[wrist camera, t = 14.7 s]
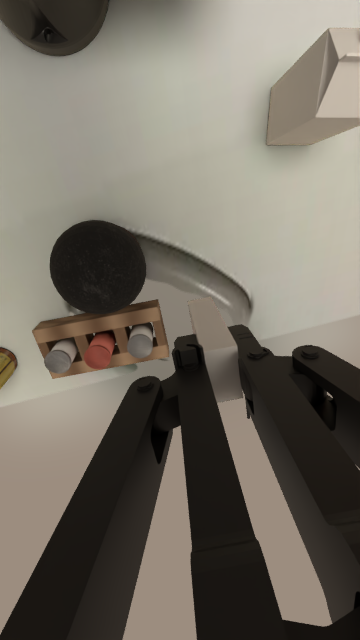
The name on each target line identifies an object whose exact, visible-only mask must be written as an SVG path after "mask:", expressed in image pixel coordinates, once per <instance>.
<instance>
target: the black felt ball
mask: <svg viewBox="0 0 360 640" xmlns="http://www.w3.org/2000/svg"><path fill="white" fill-rule="evenodd" d="M50 274H51V278H52V281H53V284H54V286H55V287H56V289H57V291H58V293H59V294H60V295H61V296H62V297H63V299H64V300H66V301H67V302H68V303H69V304H70V305H72V306H73V307H75V308H77V309H79V310H81V311H84V312H86V313H91V314H109V313H113V312H116V311H119V310H122V309H123V308H125V307H127V306H128V305H129V304H131V303H132V302H133V301H134V300H135V299H136V297H137V296H138V294H139V293H140V291H141V289H142V287H143V285H144V282H145V277H146V263H145V259H144V255H143V252H142V250H141V247H140V245H139V243H138V242H137V240H136V238H135V237H134V236H133V235H132V234H131V233H130V232H129V231H127V230H126V229H124V228H122V227H120V226H117V225H115V224H113V223H109V222H105V221H99V220H90V221H84V222H81V223H78V224H76V225H73V226H72V227H71V228H69V229H68V230H66V231H65V232H64V233H63V234H62V235H61V236H60V237H59V238H58V239H57V241H56V243H55V245H54V247H53V250H52V253H51V257H50Z"/></svg>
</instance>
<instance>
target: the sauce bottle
mask: <svg viewBox="0 0 360 640" xmlns="http://www.w3.org/2000/svg"><path fill="white" fill-rule="evenodd" d="M16 366H17V362H16V359H15V356H14V355H13V354H12V353H11V352H10V351H8V350H6V349H3V348H0V389H1V388H2V387H3V385H4V384H5V383H6V381H7V380H8V379H9V378H10V376H11V375H12V374H13V372H14V370H15V368H16Z"/></svg>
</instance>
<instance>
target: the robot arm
mask: <svg viewBox="0 0 360 640" xmlns="http://www.w3.org/2000/svg"><path fill="white" fill-rule="evenodd" d="M108 3H109V0H0V19H1V20H2V21H3V23H4V24H5V25H6V26H7V27H8V28H9V30H10V31H11V32H12V33H13V34H14V35H15V36H16V37H17V38H18V39H20V40H21V41H22V42H23V43H25V44H26V45H28V46H29V47H31V48H32V49H34V50H36V51H39V52H41V53H44V54H48V55H54V56H63V55H69V54H73V53H75V52H77V51H79V50H81V49H83V48H84V47H86V46H87V45H88V44H89V43H90V42H91V41H92V40H93V39H94V38H95V36H96V35H97V33H98V32H99V30H100V28H101V26H102V24H103V22H104V19H105V16H106V12H107V8H108ZM188 306H189V312H190V317H191V323H192V328H193V334H192V335H187V336H182V337H177V339H176V340H175V342H174V345H175V348H174V349H173V351H172V356H173V361H174V365H175V370H176V371H175V373H174V374H173V375H172V376H170V377H169V378H167V379H165V380H163V381H160V380H159V378H157V377H154V376H147V377H142V378H139V379H137V380H136V381H134V382H133V383H132V384H131V386H130V387H129V389H128V391H127V393H126V395H125V396H124V399H123V400H122V402H121V404H120V406H119V408H118V410H117V412H116V414H115V416H114V418H113V419H112V422H111V423H110V425H109V427H108V429H107V431H106V433H105V435H104V437H103V439H102V441H101V443H100V445H99V446H98V448H97V450H96V452H95V454H94V456H93V458H92V460H91V462H90V464H89V466H88V467H87V469H86V471H85V473H84V475H83V477H82V479H81V481H80V483H79V485H78V487H77V489H76V490H75V492H74V494H73V496H72V498H71V500H70V502H69V504H68V506H67V508H66V510H65V512H64V513H63V515H62V517H61V519H60V521H59V523H58V525H57V527H56V529H55V531H54V533H53V535H52V537H51V539H50V541H49V542H48V544H47V546H46V548H45V550H44V552H43V554H42V556H41V558H40V560H39V561H38V563H37V565H36V567H35V569H34V571H33V573H32V575H31V577H30V579H29V581H28V583H27V584H26V586H25V588H24V590H23V592H22V594H21V596H20V598H19V600H18V602H17V604H16V606H15V608H14V609H13V611H12V614H11V615H10V617H9V619H8V621H7V623H6V625H5V627H4V629H3V630H2V633H1V635H0V640H122V638H123V635H124V631H125V627H126V623H127V618H128V614H129V610H130V606H131V602H132V598H133V594H134V590H135V586H136V582H137V578H138V574H139V569H140V565H141V561H142V557H143V553H144V549H145V545H146V541H147V537H148V533H149V529H150V525H151V520H152V516H153V512H154V508H155V504H156V500H157V496H158V492H159V488H160V483H161V479H162V476H163V471H164V467H165V463H166V459H167V455H168V451H169V447H170V442H171V439H172V434H173V428H176V427H178V426H180V425H181V433H182V444H183V454H184V465H185V476H186V487H187V497H188V508H189V519H190V528H191V540H192V552H191V575H192V586H193V598H194V610H195V622H196V633H197V640H360V470H359V469H358V468H357V467H356V465H357V466H358V467H359V468H360V369H358V368H357V367H355V366H353V365H351V364H350V363H348V362H346V361H344V360H342V359H341V358H339V357H337V356H335V355H334V354H332V353H330V352H328V351H326V350H325V349H323V348H320V347H318V346H312V345H305V346H300V347H297V348H296V349H294V351H293V352H292V356H274V354H273V353H272V352H271V351H270V350H269V349H267V348H265V347H261V346H260V344H259V343H258V341H257V340H256V338H255V337H254V336H253V334H252V333H251V331H250V330H249V328H248V327H246V326H244V325H242V324H241V325H235V326H231V327H227V326H226V324H225V322H224V320H223V318H222V316H221V314H220V313H219V311H218V309H217V307H216V305H215V303H214V301H213V300H212V298H211V297H206V298H201V299H196V300H191V301H188ZM242 390H243V392H244V394H245V400H246V409H247V418H248V419H249V418H250V416H251V418H252V421H253V423H254V425H255V428H256V430H257V432H258V435H259V437H260V440H261V442H262V444H263V447H264V449H265V452H266V454H267V456H268V459H269V461H270V464H271V466H272V468H273V471H274V473H275V476H276V478H277V480H278V483H279V485H280V487H281V490H282V492H283V495H284V497H285V499H286V502H287V504H288V507H289V509H290V511H291V514H292V516H293V519H294V521H295V523H296V526H297V528H298V530H299V533H300V535H301V537H302V540H303V542H304V545H305V547H306V549H307V552H308V554H309V556H310V559H311V561H312V564H313V566H314V569H315V571H316V573H317V576H318V578H319V581H320V583H321V586H322V588H323V591H324V594H325V597H326V601H327V605H328V609H329V613H330V617H331V620H332V623H333V624H331V625H329V626H325V627H321V626H315V625H309V624H304V623H298V622H292V621H286V620H282V617H281V614H280V610H279V607H278V603H277V600H276V597H275V593H274V590H273V586H272V583H271V580H270V576H269V573H268V569H267V566H266V563H265V559H264V556H263V553H262V550H261V547H260V544H259V542H258V540H257V539H256V537H255V534H254V531H253V528H252V524H251V521H250V517H249V514H248V510H247V507H246V503H245V500H244V496H243V493H242V489H241V486H240V482H239V479H238V475H237V472H236V469H235V465H234V461H233V458H232V454H231V451H230V448H229V444H228V440H227V437H226V433H225V430H224V426H223V423H222V420H221V416H220V412H219V409H218V405H217V403H218V402H224V401H229V400H234V399H239V398H243V392H242ZM327 392H328V393H329V394H331V395H332V397H333V398H331V397H330V396H328V395H327Z"/></svg>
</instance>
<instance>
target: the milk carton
mask: <svg viewBox="0 0 360 640" xmlns="http://www.w3.org/2000/svg"><path fill="white" fill-rule="evenodd" d="M357 126H360V28H328V29H327V30H326V31H325V32H324V33H323V34H322V35H321V36H320V37H319V39H318V40H317V41H316V42H315V43H314V44H313V45H312V46H311V47H310V48H309V49H308V50H307V51H306V52H305V53H304V54H303V55H302V56H301V57H300V58H299V59H298V60H297V62H296V63H295V64H294V65H293V66H292V67H291V68H290V69H289V70H288V71H287V72H286V73H285V74H284V75H283V76H282V77H281V78H280V79H279V80H278V81H277V82H276V83H275V84H274V86H273V87H272V88H271V98H270V109H269V119H268V130H267V141H266V144H267V145H311V144H314V143H316V142H319V141H321V140H324V139H326V138H329V137H332V136H334V135H337V134H339V133H342V132H344V131H347V130H349V129H352V128H354V127H357Z"/></svg>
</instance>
